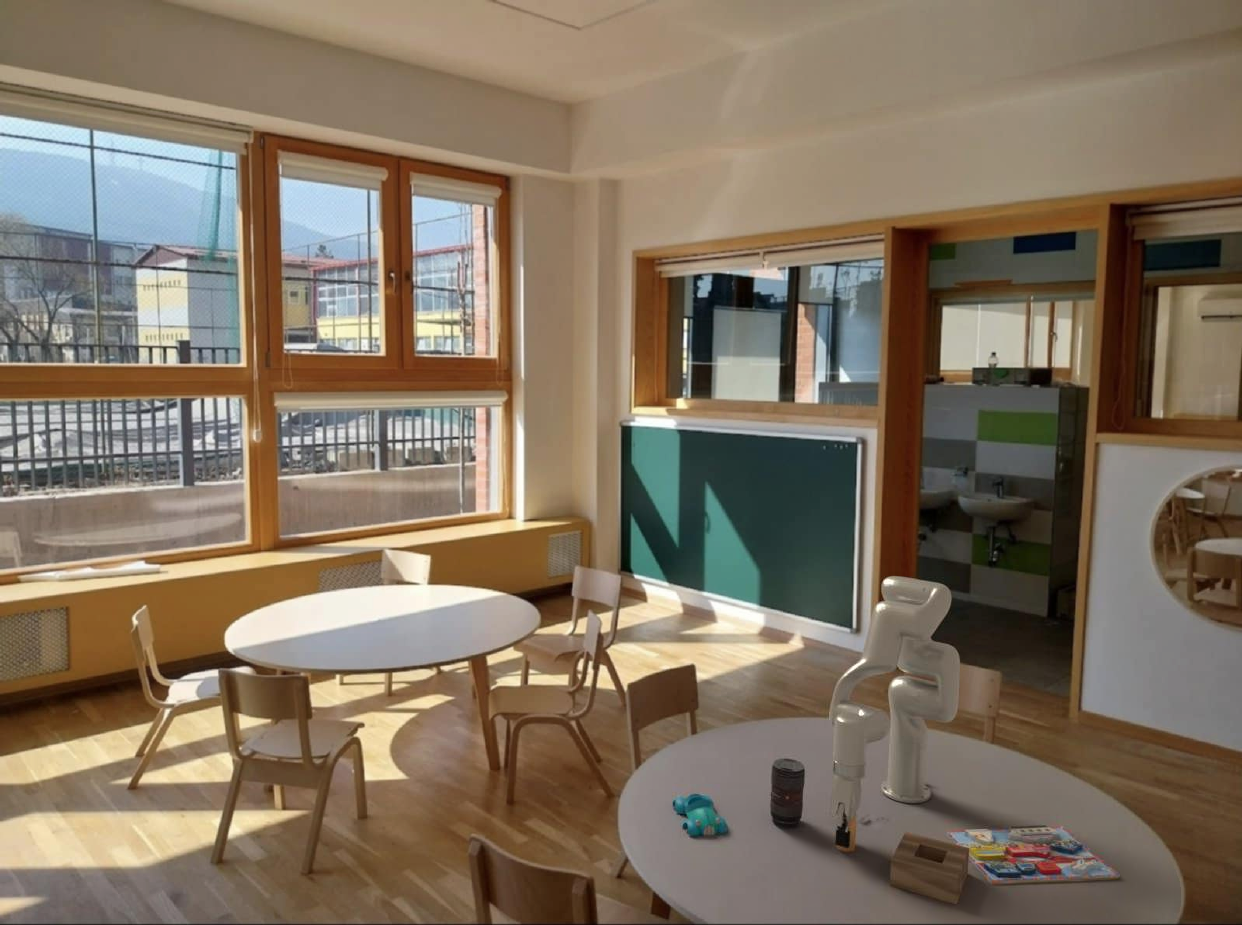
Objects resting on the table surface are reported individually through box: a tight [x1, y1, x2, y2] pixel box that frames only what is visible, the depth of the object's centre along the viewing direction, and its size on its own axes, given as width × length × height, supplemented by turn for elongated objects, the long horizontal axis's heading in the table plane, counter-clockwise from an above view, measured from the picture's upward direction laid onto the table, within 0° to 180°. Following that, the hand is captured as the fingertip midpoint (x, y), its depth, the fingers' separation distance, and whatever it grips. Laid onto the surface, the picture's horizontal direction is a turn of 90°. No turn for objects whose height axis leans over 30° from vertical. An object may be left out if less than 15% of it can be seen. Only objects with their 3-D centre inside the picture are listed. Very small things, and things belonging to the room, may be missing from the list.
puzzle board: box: [945, 824, 1121, 885], centre depth 217 cm, size 30×23×3 cm
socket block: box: [889, 831, 970, 905], centre depth 205 cm, size 14×14×6 cm
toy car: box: [672, 793, 728, 838], centre depth 231 cm, size 11×18×7 cm, turn 12°
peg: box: [835, 812, 857, 853], centre depth 218 cm, size 4×4×8 cm
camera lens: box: [769, 757, 806, 829], centre depth 229 cm, size 8×8×15 cm
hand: (845, 840), depth 219 cm, fingers closed on peg, 4 cm apart
